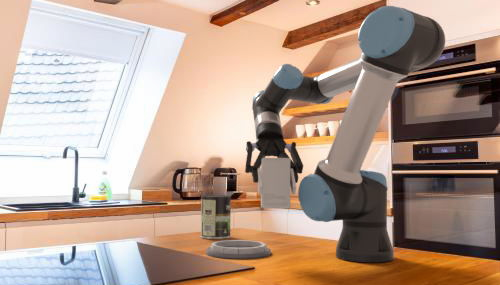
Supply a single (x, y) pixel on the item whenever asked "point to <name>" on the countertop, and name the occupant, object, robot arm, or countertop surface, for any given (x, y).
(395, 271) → the countertop surface
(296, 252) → the countertop surface
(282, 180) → the supplement box
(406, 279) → the countertop surface
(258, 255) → the collar plate
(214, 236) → the coffee can
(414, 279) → the countertop surface
